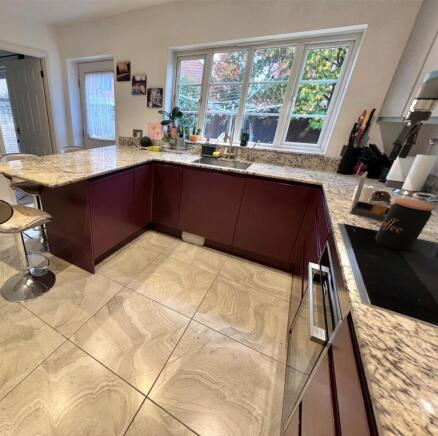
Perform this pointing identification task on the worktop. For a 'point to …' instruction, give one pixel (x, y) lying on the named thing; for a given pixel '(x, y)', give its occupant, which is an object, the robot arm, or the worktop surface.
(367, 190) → the white cup
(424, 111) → the robot arm
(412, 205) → the coffee jar
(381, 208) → the coffee pod
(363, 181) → the brew lid
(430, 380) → the worktop surface
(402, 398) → the worktop surface
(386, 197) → the pottery mug
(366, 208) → the drip tray
